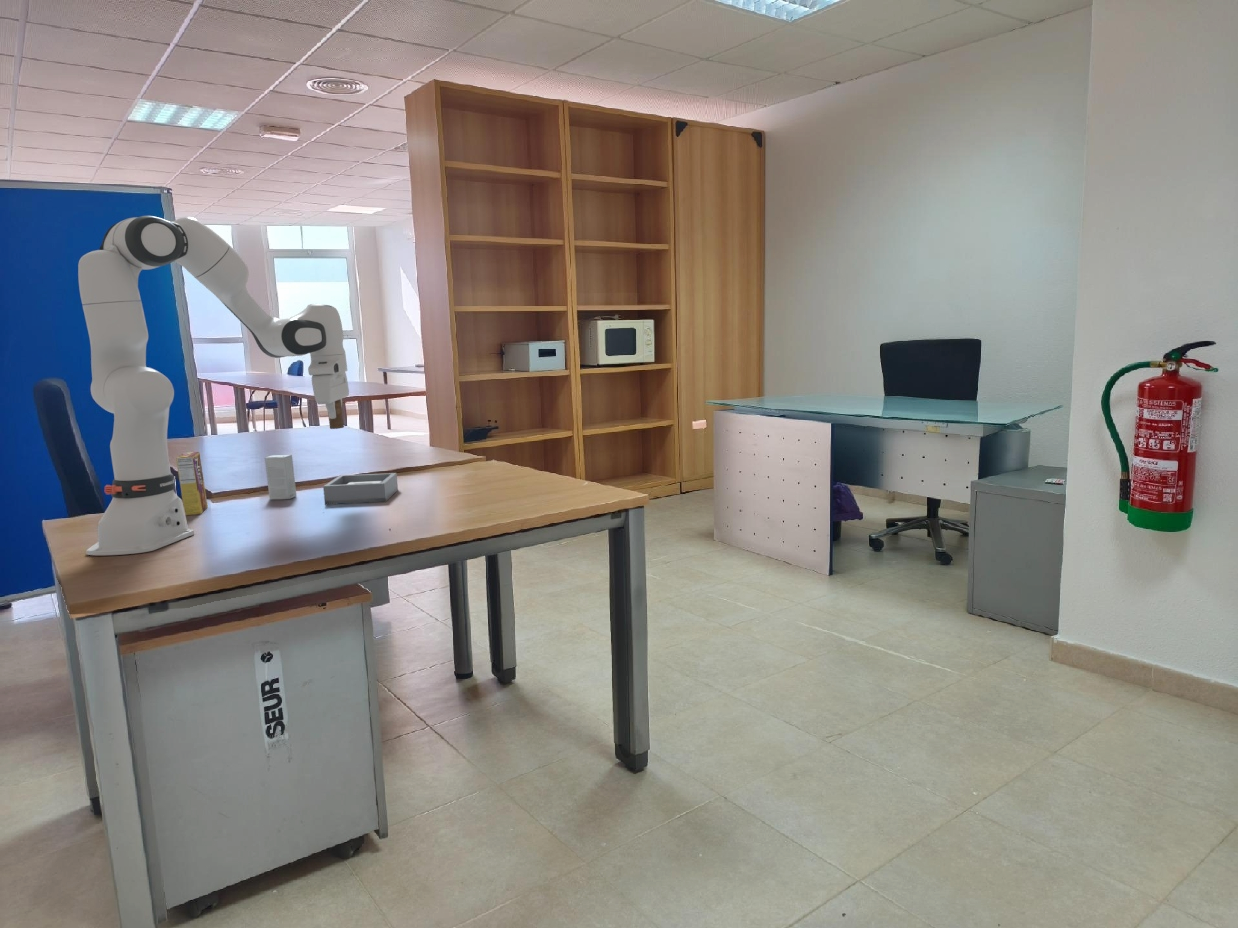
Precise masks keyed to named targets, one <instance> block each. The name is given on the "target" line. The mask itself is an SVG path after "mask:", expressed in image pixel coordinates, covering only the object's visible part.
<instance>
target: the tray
mask: <svg viewBox="0 0 1238 928" xmlns="http://www.w3.org/2000/svg"><path fill="white" fill-rule="evenodd" d="M322 488H323V498H324V505H326V504H327V505H337V504H336V503H348V504H362V503H361V502H369V503H383V502H382V501H386V502H387V501H389V499H390V498H391V497H393V495H394V494H396V492H398V490H399V488H398V474H397V472H389V473H365V474H344V475H341V474H340V475H338V476H337V477H335V478H334V479H332V480H330V481H329V482H327V483H326V484H324V485H323V487H322Z"/></svg>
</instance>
